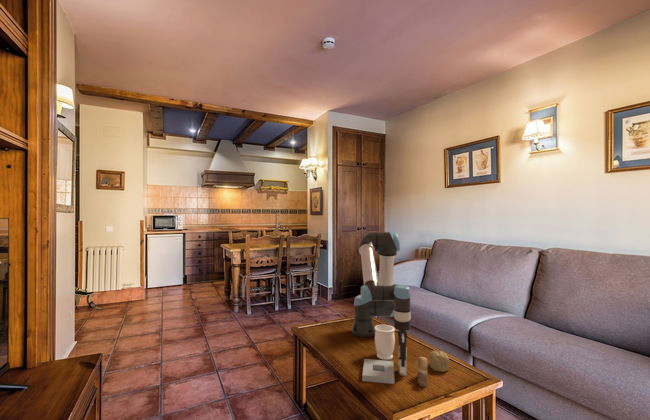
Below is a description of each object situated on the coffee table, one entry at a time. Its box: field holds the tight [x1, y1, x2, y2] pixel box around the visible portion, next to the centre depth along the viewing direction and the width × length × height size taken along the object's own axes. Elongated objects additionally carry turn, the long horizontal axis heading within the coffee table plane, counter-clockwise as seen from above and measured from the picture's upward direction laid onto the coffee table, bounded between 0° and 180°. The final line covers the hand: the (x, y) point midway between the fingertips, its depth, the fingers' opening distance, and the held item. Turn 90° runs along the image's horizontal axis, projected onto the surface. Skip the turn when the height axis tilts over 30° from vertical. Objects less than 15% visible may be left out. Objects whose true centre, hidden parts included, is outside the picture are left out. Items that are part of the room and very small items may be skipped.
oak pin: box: [417, 356, 428, 373], centre depth 140 cm, size 4×4×8 cm
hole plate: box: [361, 358, 395, 385], centre depth 142 cm, size 16×14×2 cm
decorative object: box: [428, 350, 450, 373], centre depth 148 cm, size 9×10×10 cm
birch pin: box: [397, 345, 408, 377], centre depth 142 cm, size 4×4×12 cm
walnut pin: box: [417, 370, 428, 388], centre depth 133 cm, size 4×4×5 cm
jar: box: [374, 324, 396, 361], centre depth 160 cm, size 11×10×15 cm
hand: (402, 369), depth 142 cm, fingers open, 6 cm apart
